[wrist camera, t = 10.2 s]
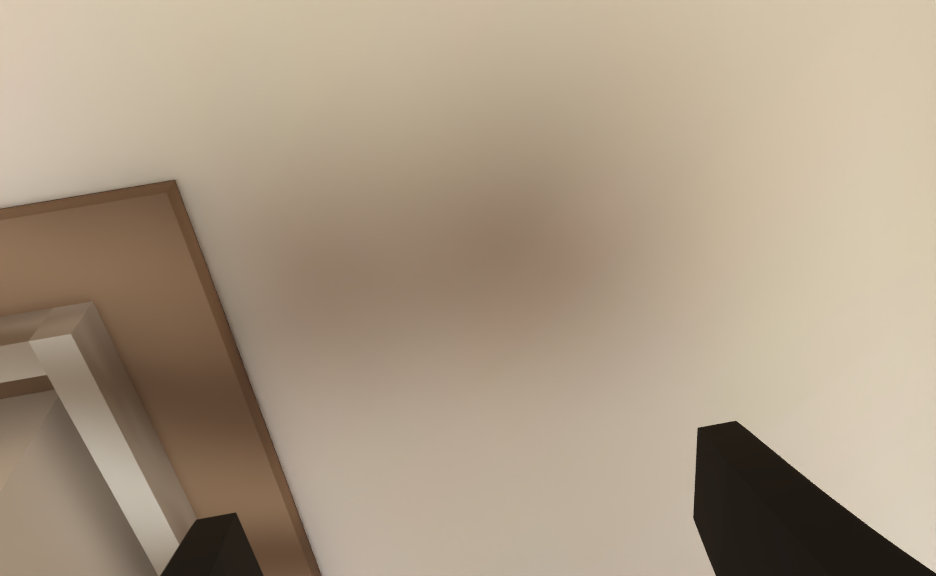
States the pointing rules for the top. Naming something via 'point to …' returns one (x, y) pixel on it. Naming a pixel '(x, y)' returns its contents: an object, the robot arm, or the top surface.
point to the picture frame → (143, 367)
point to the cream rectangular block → (58, 499)
